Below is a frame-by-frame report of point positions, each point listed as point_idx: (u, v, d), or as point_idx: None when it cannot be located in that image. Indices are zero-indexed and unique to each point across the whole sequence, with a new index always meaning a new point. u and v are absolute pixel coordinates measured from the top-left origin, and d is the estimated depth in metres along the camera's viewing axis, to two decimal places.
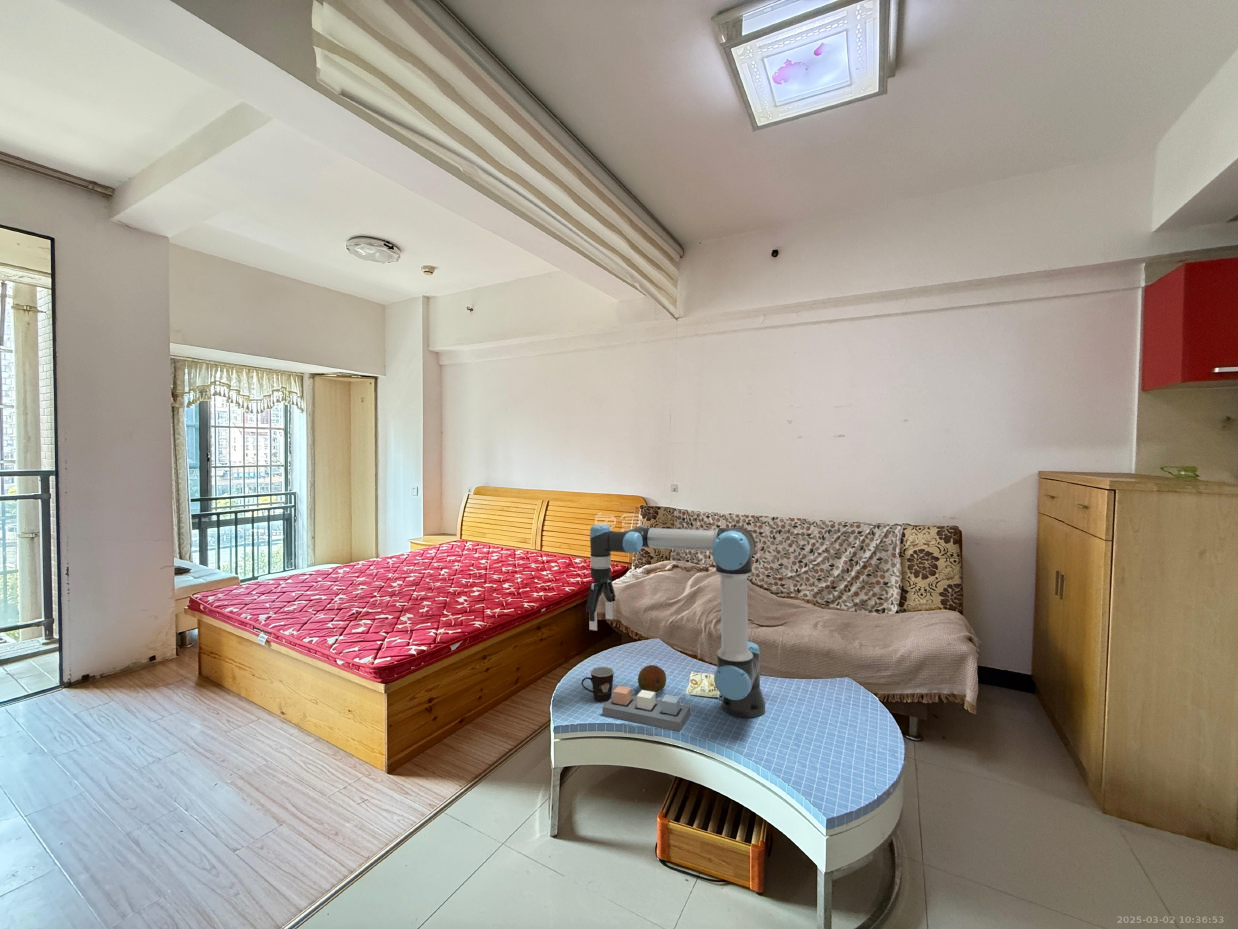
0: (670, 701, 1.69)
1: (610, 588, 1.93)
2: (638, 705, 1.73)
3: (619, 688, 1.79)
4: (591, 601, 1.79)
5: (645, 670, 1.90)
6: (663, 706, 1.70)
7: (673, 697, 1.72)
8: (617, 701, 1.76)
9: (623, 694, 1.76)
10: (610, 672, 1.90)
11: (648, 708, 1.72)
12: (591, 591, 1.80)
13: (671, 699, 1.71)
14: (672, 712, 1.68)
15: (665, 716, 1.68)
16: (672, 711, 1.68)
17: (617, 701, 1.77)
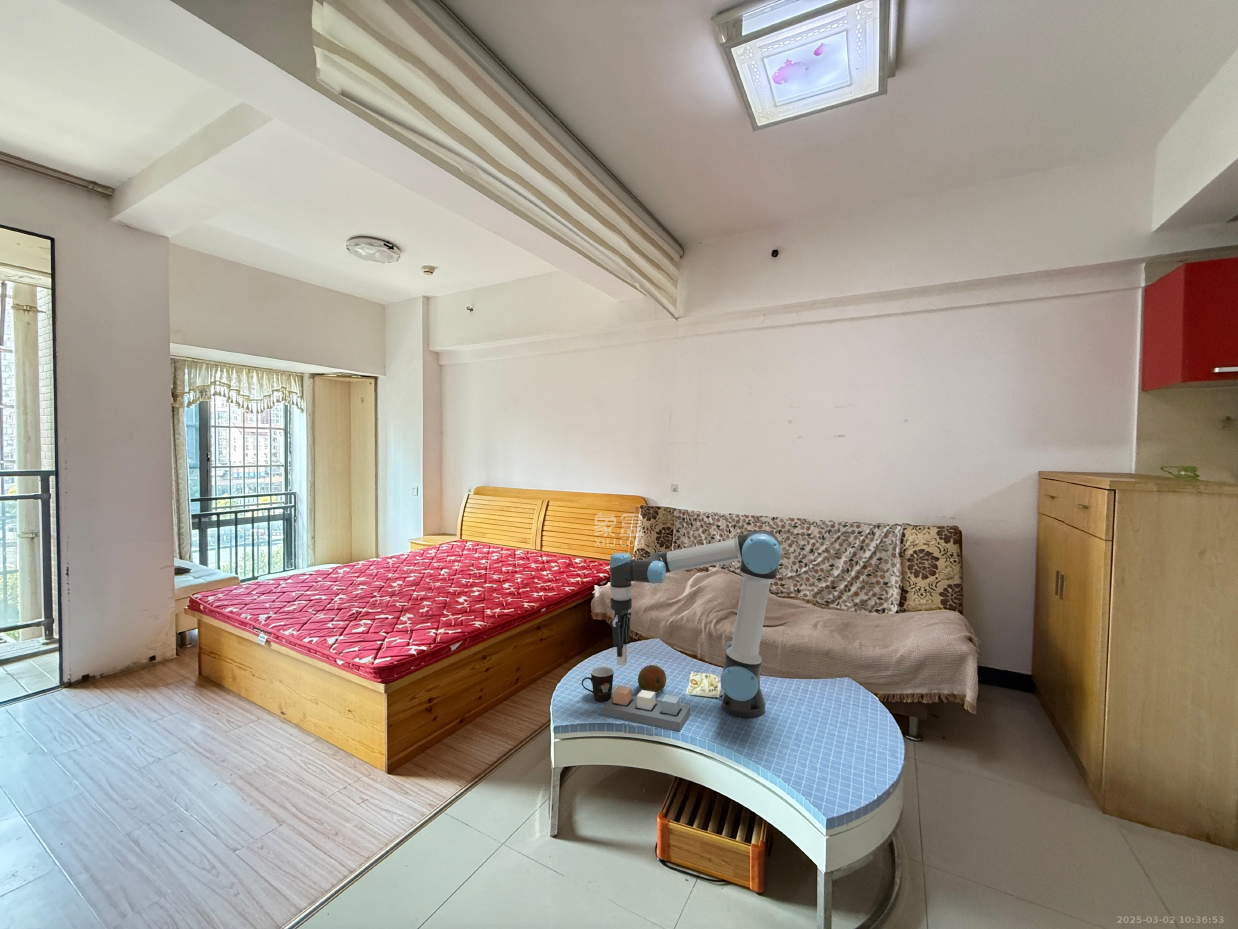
0: (670, 701, 1.69)
1: (627, 625, 1.82)
2: (638, 705, 1.73)
3: (619, 688, 1.79)
4: (617, 638, 1.74)
5: (645, 670, 1.90)
6: (663, 706, 1.70)
7: (673, 697, 1.72)
8: (617, 701, 1.76)
9: (623, 694, 1.76)
10: (610, 672, 1.90)
11: (648, 708, 1.72)
12: (614, 629, 1.73)
13: (671, 699, 1.71)
14: (672, 712, 1.68)
15: (665, 716, 1.68)
16: (672, 711, 1.68)
17: (617, 701, 1.77)
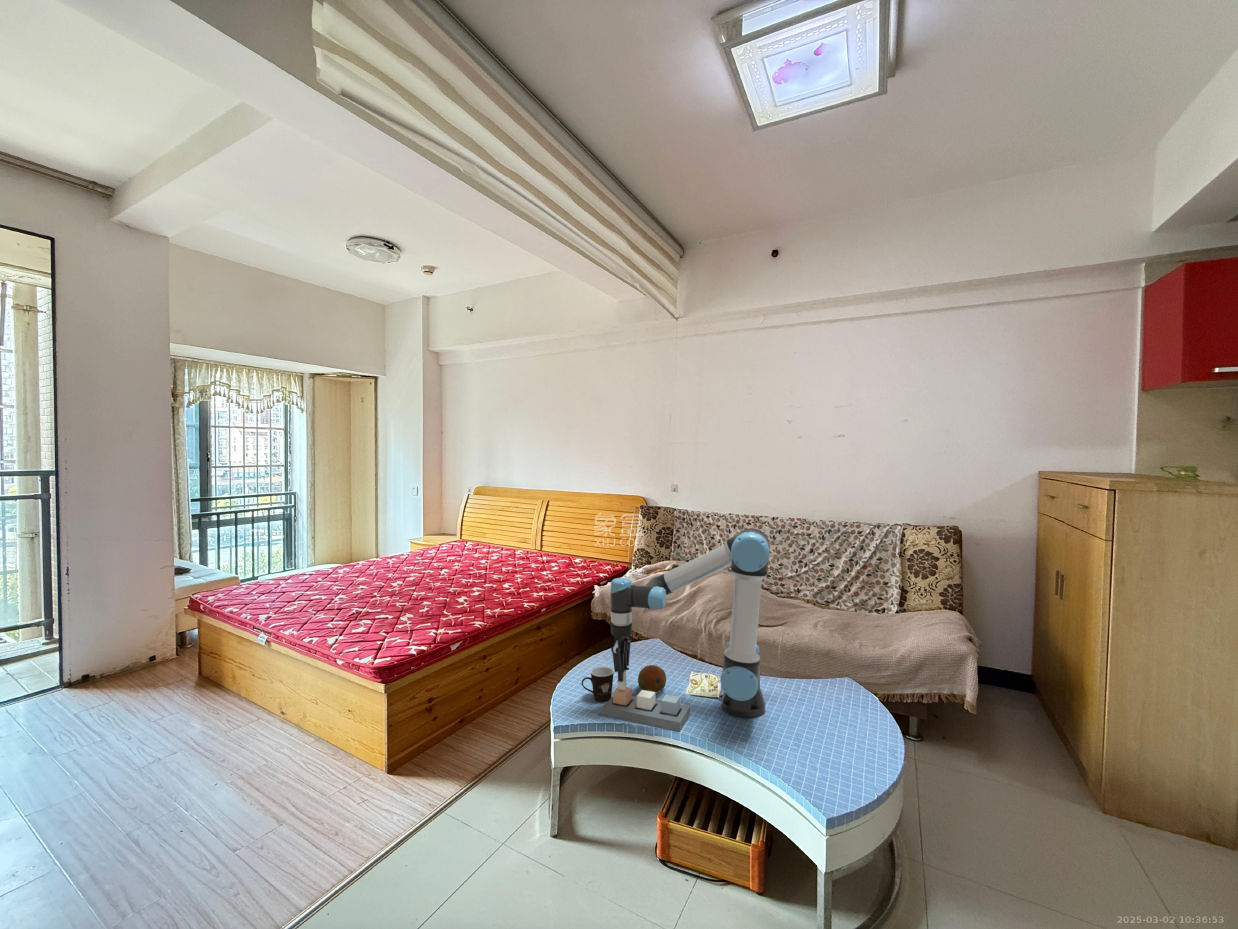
0: (670, 701, 1.69)
1: (627, 651, 1.81)
2: (638, 705, 1.73)
3: None
4: (618, 664, 1.74)
5: (645, 670, 1.90)
6: (663, 706, 1.70)
7: (673, 697, 1.72)
8: (617, 701, 1.76)
9: (623, 694, 1.76)
10: (610, 672, 1.90)
11: (648, 708, 1.72)
12: (615, 655, 1.74)
13: (671, 699, 1.71)
14: (672, 712, 1.68)
15: (665, 716, 1.68)
16: (672, 711, 1.68)
17: (617, 702, 1.77)
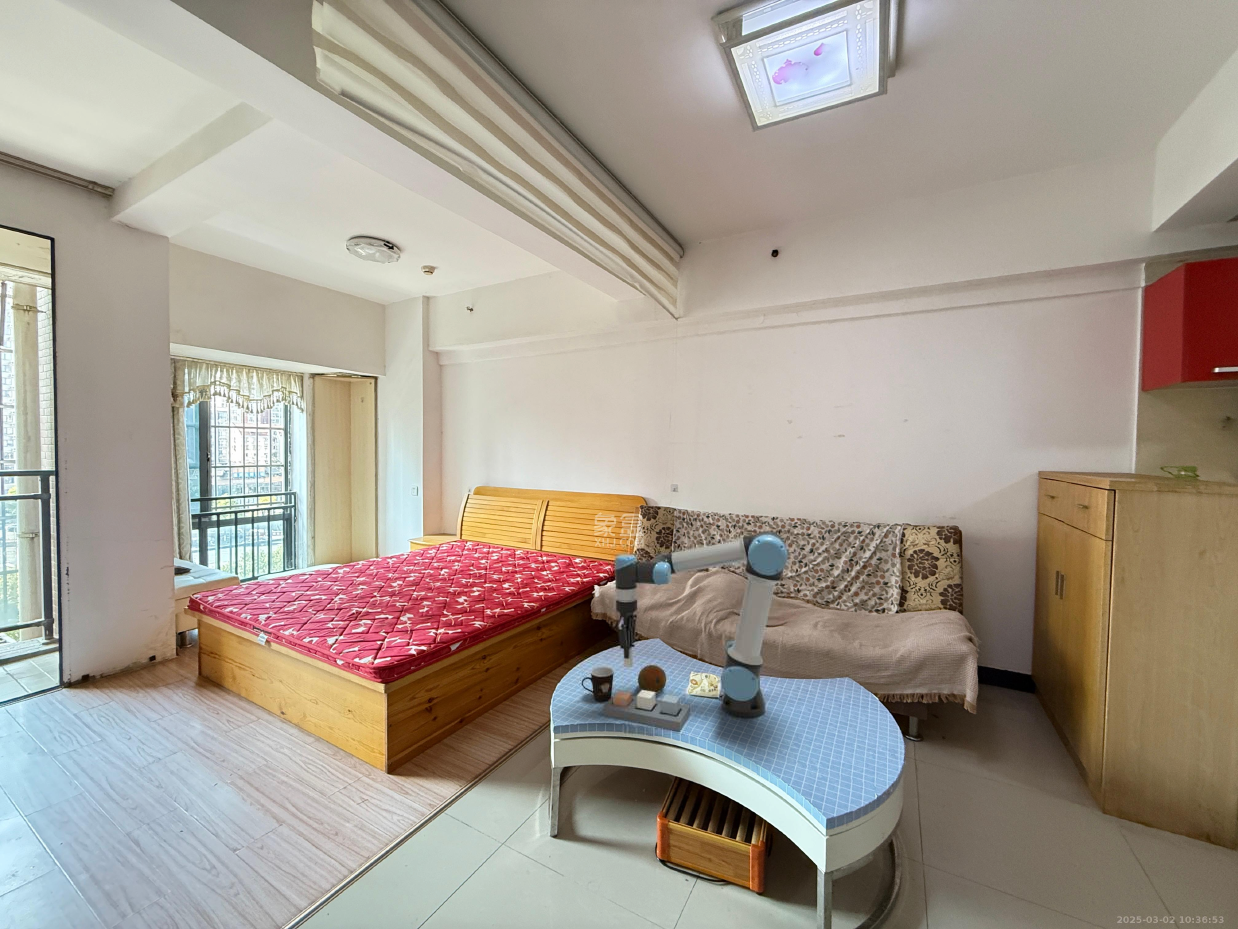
0: (670, 701, 1.69)
1: (632, 628, 1.81)
2: (638, 705, 1.73)
3: (619, 693, 1.79)
4: (623, 640, 1.73)
5: (645, 670, 1.90)
6: (663, 706, 1.70)
7: (673, 697, 1.72)
8: None
9: (623, 699, 1.76)
10: (610, 672, 1.90)
11: (648, 708, 1.72)
12: (620, 631, 1.73)
13: (671, 699, 1.71)
14: (672, 712, 1.68)
15: (665, 716, 1.68)
16: (672, 711, 1.68)
17: None
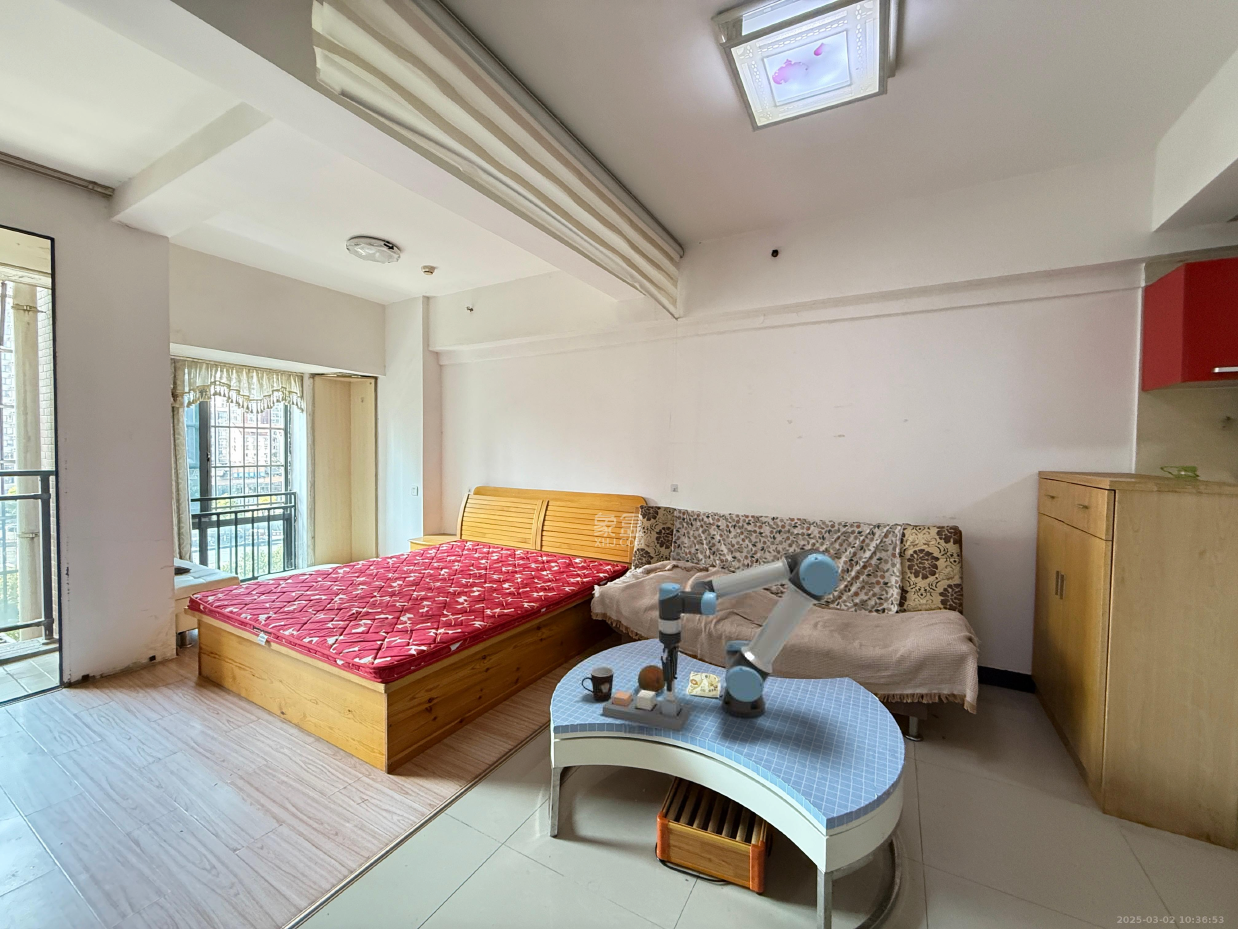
0: (670, 702, 1.69)
1: (675, 659, 1.74)
2: (638, 705, 1.73)
3: (619, 693, 1.79)
4: (667, 673, 1.67)
5: (645, 670, 1.90)
6: (663, 708, 1.70)
7: None
8: None
9: (623, 699, 1.76)
10: (610, 672, 1.90)
11: (648, 708, 1.72)
12: (664, 664, 1.66)
13: (671, 701, 1.71)
14: (672, 714, 1.68)
15: (665, 716, 1.68)
16: (672, 713, 1.68)
17: None
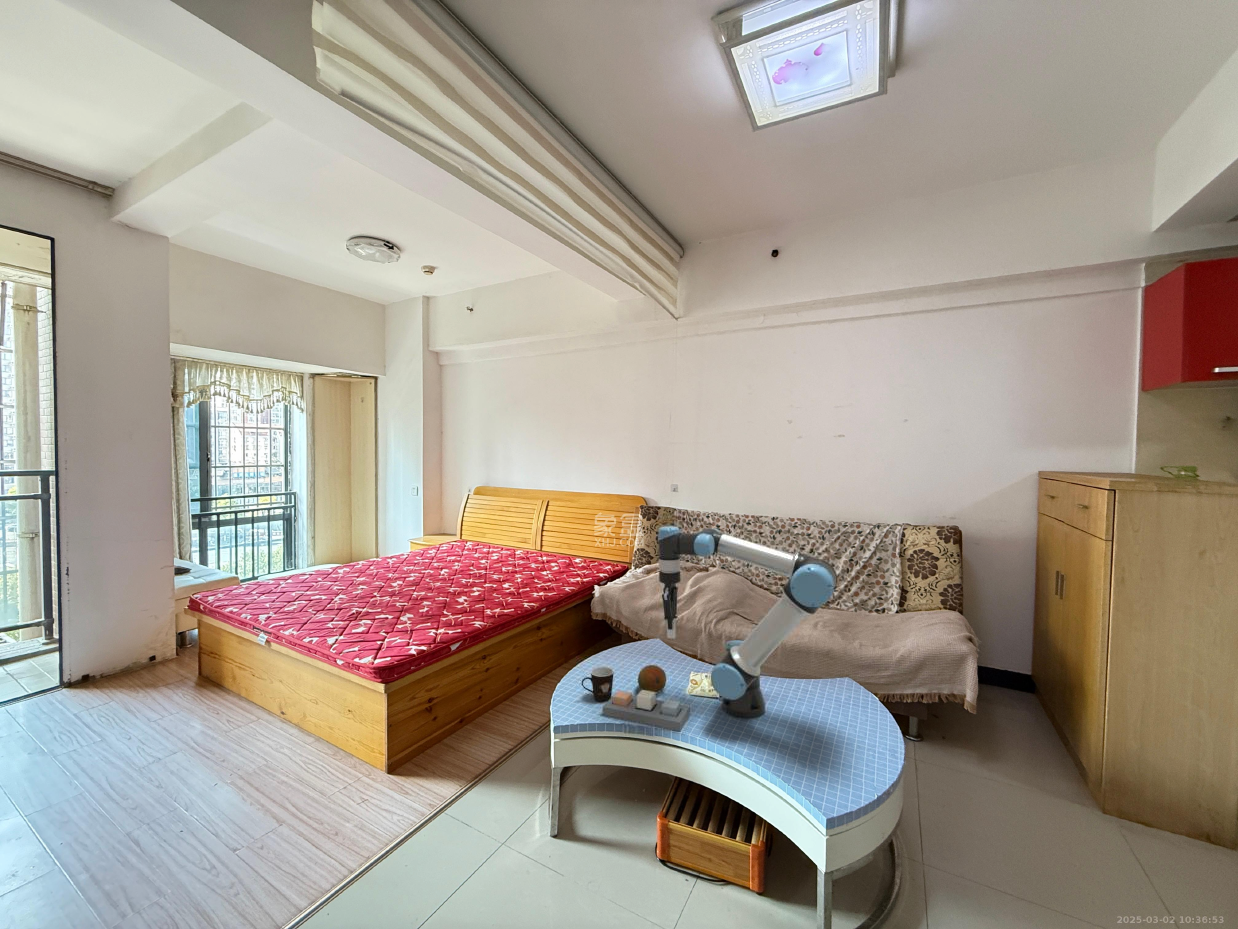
0: (670, 706, 1.69)
1: (674, 599, 1.81)
2: (638, 705, 1.73)
3: (619, 693, 1.79)
4: (668, 611, 1.73)
5: (645, 670, 1.90)
6: (663, 711, 1.70)
7: (673, 702, 1.72)
8: None
9: (623, 699, 1.76)
10: (610, 672, 1.90)
11: (648, 708, 1.72)
12: (666, 601, 1.73)
13: (671, 704, 1.71)
14: None
15: (665, 716, 1.68)
16: None
17: None
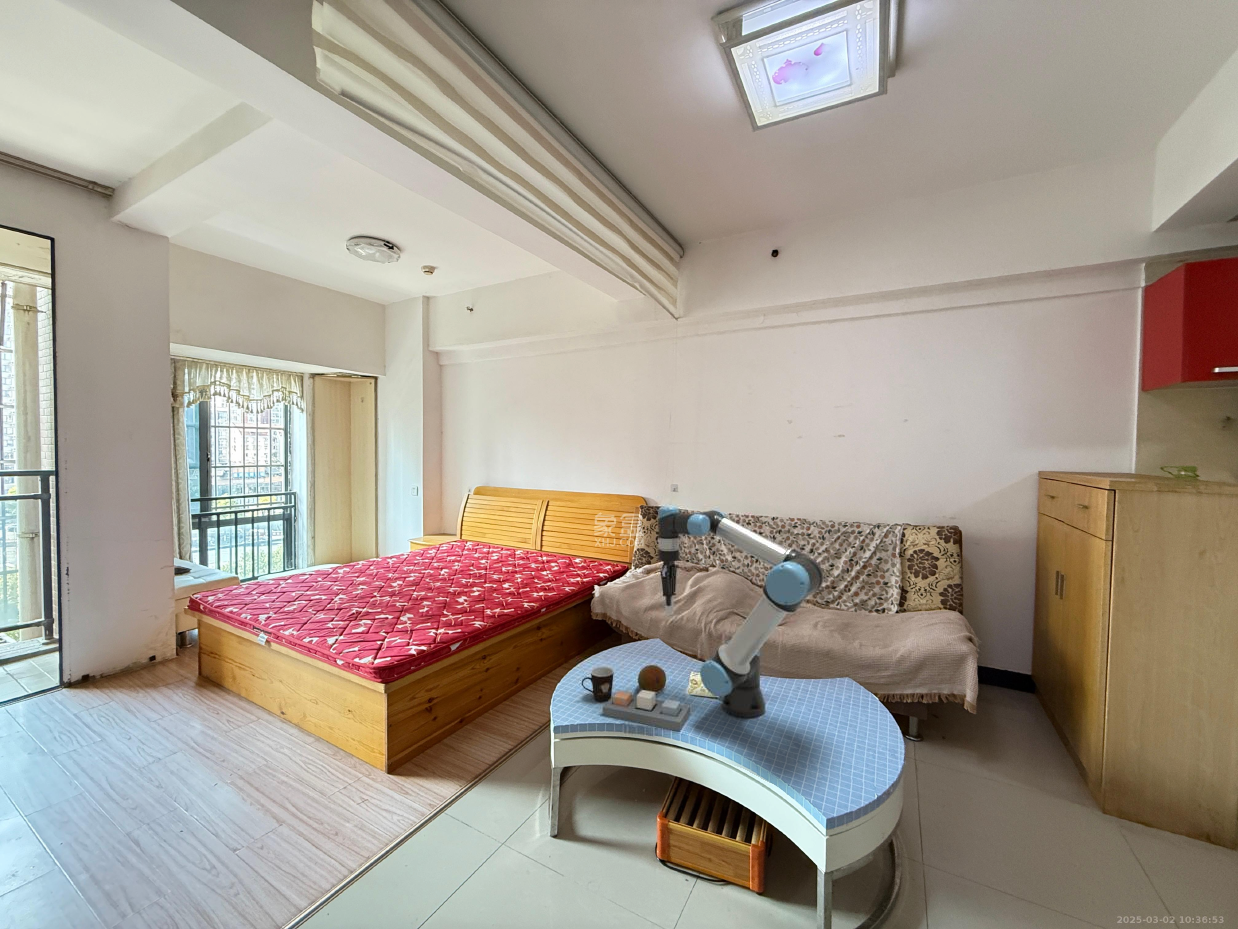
0: (670, 706, 1.69)
1: (673, 577, 1.87)
2: (638, 705, 1.73)
3: (619, 693, 1.79)
4: (666, 588, 1.79)
5: (645, 670, 1.90)
6: (663, 711, 1.70)
7: (673, 702, 1.72)
8: None
9: (623, 699, 1.76)
10: (610, 672, 1.90)
11: (648, 708, 1.72)
12: (664, 578, 1.79)
13: (671, 704, 1.71)
14: None
15: (665, 716, 1.68)
16: None
17: None
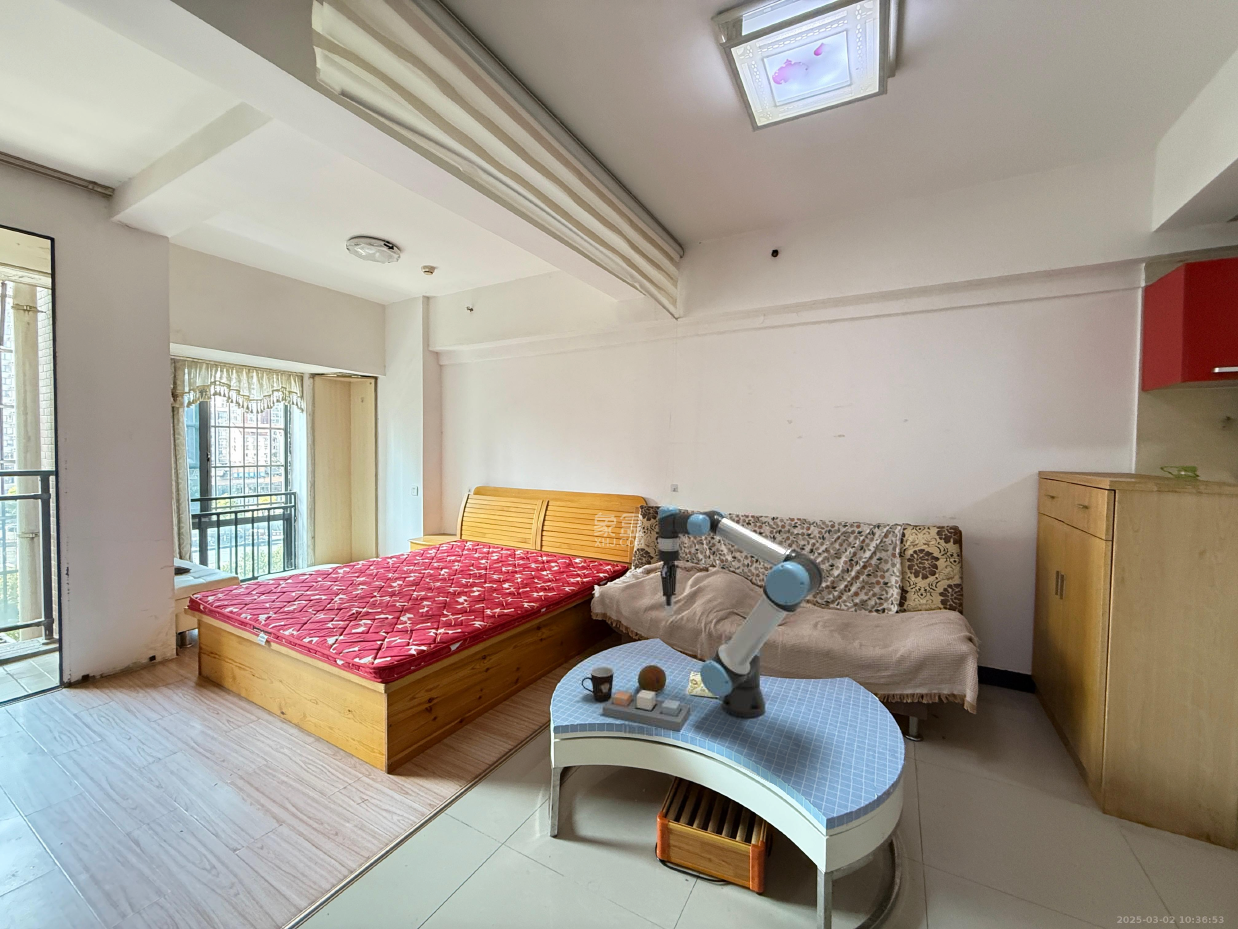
0: (670, 706, 1.69)
1: (673, 577, 1.87)
2: (638, 705, 1.73)
3: (619, 693, 1.79)
4: (666, 588, 1.79)
5: (645, 670, 1.90)
6: (663, 711, 1.70)
7: (673, 702, 1.72)
8: None
9: (623, 699, 1.76)
10: (610, 672, 1.90)
11: (648, 708, 1.72)
12: (664, 578, 1.79)
13: (671, 704, 1.71)
14: None
15: (665, 716, 1.68)
16: None
17: None
